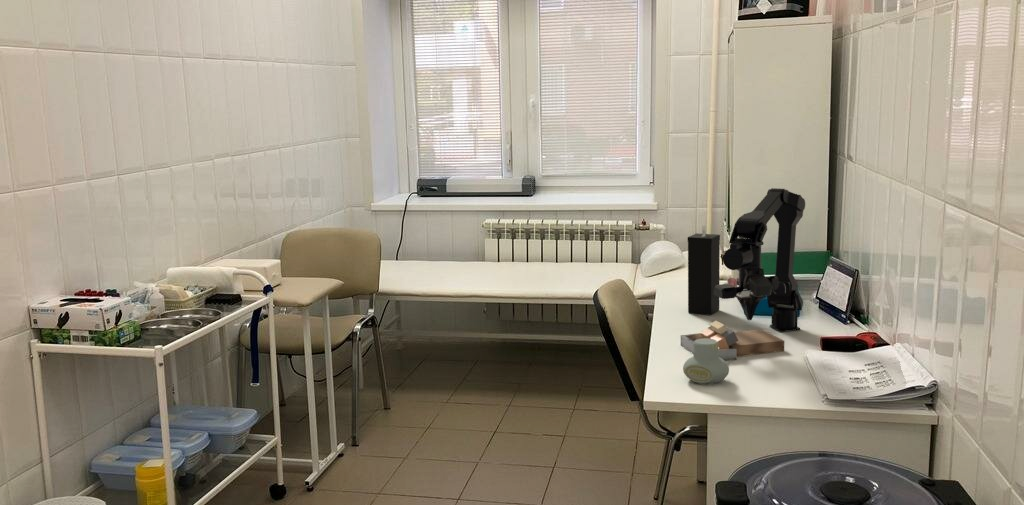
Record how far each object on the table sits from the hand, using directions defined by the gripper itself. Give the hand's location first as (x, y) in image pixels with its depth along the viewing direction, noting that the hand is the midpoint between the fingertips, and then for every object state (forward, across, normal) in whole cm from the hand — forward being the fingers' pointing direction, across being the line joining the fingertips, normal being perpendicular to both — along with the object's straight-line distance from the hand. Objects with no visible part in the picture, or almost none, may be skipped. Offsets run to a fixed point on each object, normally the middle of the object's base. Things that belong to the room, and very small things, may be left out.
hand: (749, 319), depth 233 cm
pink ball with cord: (+9, +22, +60) cm, 65 cm away
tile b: (+4, -9, -3) cm, 10 cm away
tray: (+8, -12, 0) cm, 15 cm away
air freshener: (+8, -23, -21) cm, 32 cm away
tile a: (+5, -9, +3) cm, 10 cm away
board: (+8, 0, 0) cm, 8 cm away
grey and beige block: (+5, -7, 0) cm, 8 cm away
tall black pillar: (+8, +6, +41) cm, 42 cm away
